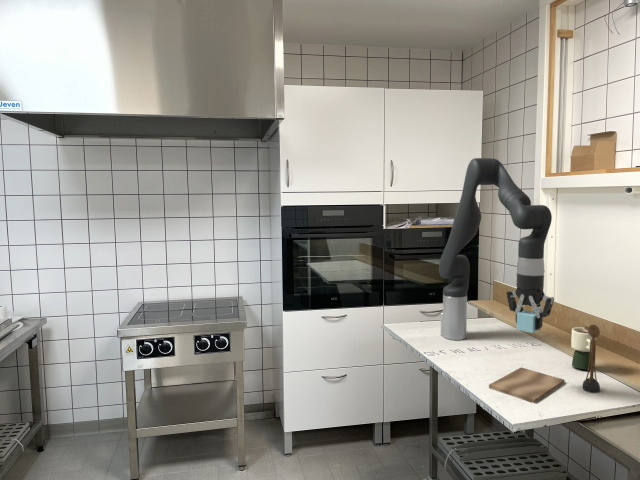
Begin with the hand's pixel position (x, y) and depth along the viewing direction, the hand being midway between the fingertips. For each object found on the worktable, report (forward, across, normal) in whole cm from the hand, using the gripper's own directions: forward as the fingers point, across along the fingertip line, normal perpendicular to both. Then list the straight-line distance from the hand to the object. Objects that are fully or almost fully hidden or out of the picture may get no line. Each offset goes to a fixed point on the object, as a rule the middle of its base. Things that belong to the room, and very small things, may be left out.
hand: (528, 327), depth 148 cm
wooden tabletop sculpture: (+19, +14, +11) cm, 26 cm away
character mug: (+19, +6, +26) cm, 33 cm away
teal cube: (+1, 0, 0) cm, 1 cm away
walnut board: (+18, 0, 0) cm, 18 cm away
